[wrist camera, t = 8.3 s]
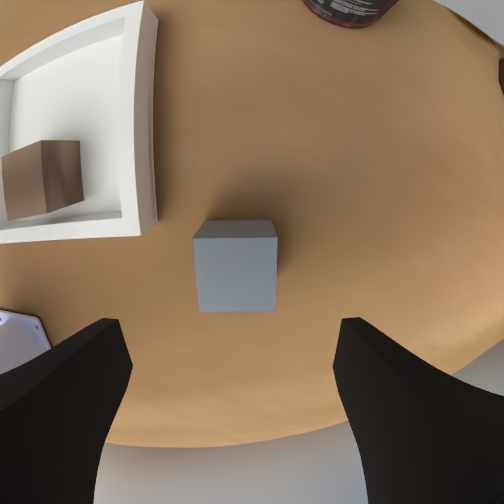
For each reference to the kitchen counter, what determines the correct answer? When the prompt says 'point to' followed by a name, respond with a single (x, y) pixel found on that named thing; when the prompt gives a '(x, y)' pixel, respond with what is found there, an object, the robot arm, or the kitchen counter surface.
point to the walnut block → (42, 178)
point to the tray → (88, 122)
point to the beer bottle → (501, 74)
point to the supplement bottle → (350, 11)
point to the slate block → (236, 265)
